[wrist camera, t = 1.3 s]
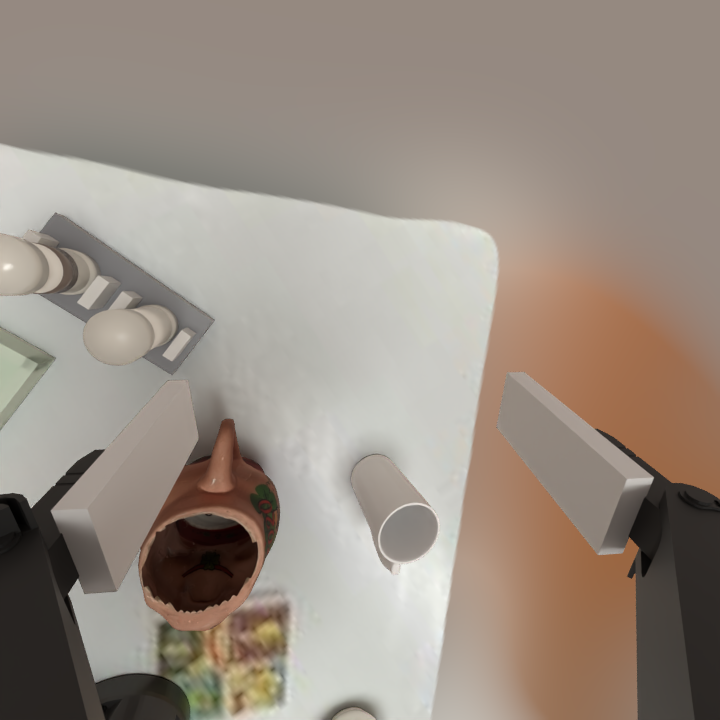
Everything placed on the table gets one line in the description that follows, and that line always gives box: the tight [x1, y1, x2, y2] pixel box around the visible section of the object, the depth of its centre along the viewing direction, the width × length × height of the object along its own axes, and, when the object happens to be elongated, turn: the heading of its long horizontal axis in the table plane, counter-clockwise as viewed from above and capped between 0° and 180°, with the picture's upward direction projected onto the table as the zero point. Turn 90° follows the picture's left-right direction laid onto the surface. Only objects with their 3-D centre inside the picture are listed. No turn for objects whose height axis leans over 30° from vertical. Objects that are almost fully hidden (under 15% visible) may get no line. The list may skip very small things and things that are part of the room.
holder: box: [22, 213, 214, 375], centre depth 30 cm, size 7×16×12 cm, turn 51°
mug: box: [351, 455, 440, 575], centre depth 42 cm, size 10×7×12 cm, turn 169°
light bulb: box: [0, 233, 101, 296], centre depth 28 cm, size 4×4×11 cm
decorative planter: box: [138, 419, 280, 631], centre depth 36 cm, size 20×12×14 cm, turn 174°
